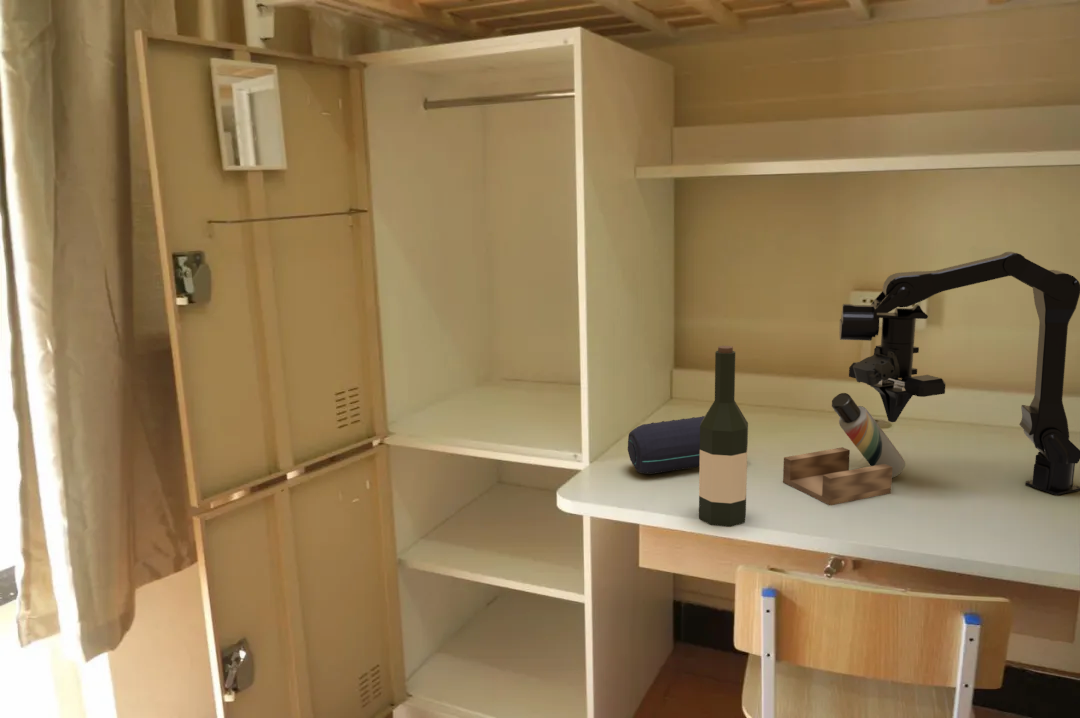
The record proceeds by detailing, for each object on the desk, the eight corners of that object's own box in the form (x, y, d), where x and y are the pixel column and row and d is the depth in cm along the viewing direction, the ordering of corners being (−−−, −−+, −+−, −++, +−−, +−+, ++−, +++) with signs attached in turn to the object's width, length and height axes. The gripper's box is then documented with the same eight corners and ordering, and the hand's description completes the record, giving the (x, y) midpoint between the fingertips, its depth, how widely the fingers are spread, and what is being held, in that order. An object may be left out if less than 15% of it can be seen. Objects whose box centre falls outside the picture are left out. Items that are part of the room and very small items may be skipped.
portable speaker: (725, 452, 178) (726, 407, 176) (752, 466, 168) (753, 419, 166) (619, 467, 170) (618, 420, 168) (640, 483, 161) (640, 434, 159)
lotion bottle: (878, 460, 163) (826, 392, 156) (906, 453, 160) (854, 384, 152) (876, 482, 160) (823, 414, 152) (905, 475, 156) (852, 405, 149)
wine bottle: (712, 504, 149) (714, 340, 143) (755, 515, 144) (760, 345, 137) (689, 519, 142) (690, 348, 136) (733, 530, 137) (737, 353, 131)
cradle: (841, 471, 164) (842, 447, 163) (890, 492, 152) (892, 467, 151) (782, 482, 159) (783, 457, 158) (829, 505, 147) (830, 478, 146)
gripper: (828, 337, 160) (824, 414, 163) (902, 354, 143) (896, 440, 146) (873, 332, 164) (869, 408, 167) (950, 348, 147) (944, 432, 150)
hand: (892, 421), depth 158 cm, fingers closed
